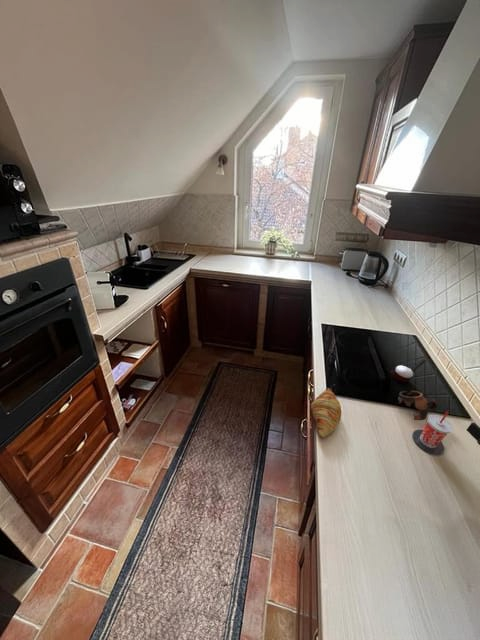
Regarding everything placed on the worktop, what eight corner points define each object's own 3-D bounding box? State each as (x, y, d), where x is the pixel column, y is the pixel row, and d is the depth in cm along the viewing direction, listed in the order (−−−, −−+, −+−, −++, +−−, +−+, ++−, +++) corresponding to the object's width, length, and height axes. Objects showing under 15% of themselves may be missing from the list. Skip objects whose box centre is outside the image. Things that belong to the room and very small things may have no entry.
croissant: (328, 449, 82) (346, 440, 77) (303, 431, 82) (319, 421, 77) (332, 400, 98) (347, 390, 94) (311, 385, 98) (325, 375, 94)
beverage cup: (414, 440, 81) (432, 411, 74) (420, 429, 85) (437, 400, 77) (437, 454, 77) (458, 424, 70) (441, 441, 81) (462, 412, 74)
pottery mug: (406, 422, 88) (402, 399, 87) (395, 411, 97) (392, 390, 97) (445, 420, 85) (442, 396, 85) (430, 409, 94) (427, 387, 94)
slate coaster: (437, 433, 84) (437, 432, 84) (448, 458, 77) (449, 457, 76) (408, 427, 86) (409, 426, 85) (417, 451, 78) (417, 450, 78)
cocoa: (387, 379, 105) (397, 356, 99) (390, 370, 110) (400, 348, 104) (413, 389, 101) (426, 366, 95) (415, 380, 105) (427, 357, 99)
